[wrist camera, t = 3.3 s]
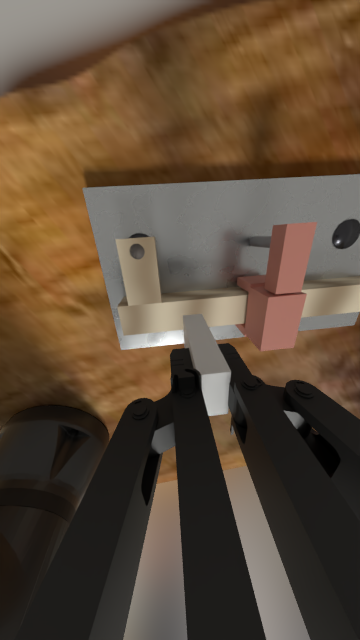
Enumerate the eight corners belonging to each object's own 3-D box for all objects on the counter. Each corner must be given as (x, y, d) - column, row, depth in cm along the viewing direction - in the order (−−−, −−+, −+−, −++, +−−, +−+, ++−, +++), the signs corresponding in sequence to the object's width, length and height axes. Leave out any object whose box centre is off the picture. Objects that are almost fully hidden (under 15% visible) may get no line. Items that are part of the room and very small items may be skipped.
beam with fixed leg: (128, 322, 20) (123, 335, 17) (111, 239, 17) (102, 240, 14) (352, 300, 22) (379, 309, 19) (381, 221, 18) (419, 218, 16)
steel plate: (122, 345, 22) (121, 350, 21) (86, 190, 16) (81, 187, 15) (347, 321, 24) (355, 325, 23) (401, 174, 18) (415, 171, 17)
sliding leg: (233, 323, 21) (259, 354, 15) (240, 228, 17) (279, 224, 11) (258, 320, 21) (292, 350, 16) (270, 226, 17) (324, 221, 11)
